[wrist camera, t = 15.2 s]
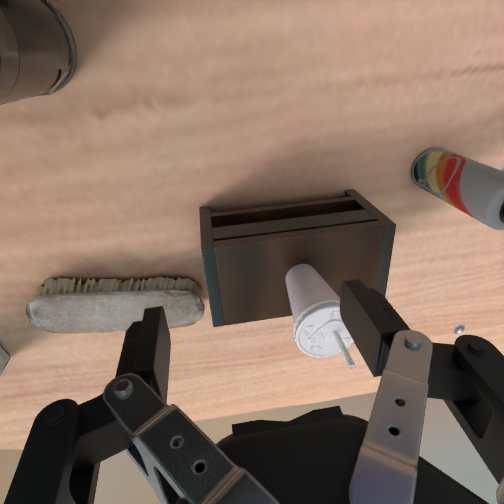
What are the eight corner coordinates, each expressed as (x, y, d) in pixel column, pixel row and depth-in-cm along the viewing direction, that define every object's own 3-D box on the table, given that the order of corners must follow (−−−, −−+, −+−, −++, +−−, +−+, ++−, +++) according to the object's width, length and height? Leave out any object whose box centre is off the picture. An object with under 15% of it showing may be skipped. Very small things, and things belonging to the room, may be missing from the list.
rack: (209, 274, 53) (213, 327, 43) (199, 207, 48) (201, 249, 38) (348, 255, 56) (384, 301, 45) (354, 189, 50) (396, 224, 40)
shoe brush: (42, 318, 53) (28, 342, 48) (30, 276, 49) (14, 297, 45) (203, 311, 57) (204, 332, 52) (203, 271, 53) (204, 290, 49)
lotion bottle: (404, 164, 49) (517, 223, 32) (440, 138, 48) (578, 184, 31) (419, 194, 52) (532, 263, 35) (453, 170, 51) (588, 228, 34)
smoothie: (332, 287, 43) (388, 378, 31) (283, 306, 43) (319, 405, 31) (319, 245, 40) (375, 328, 27) (266, 266, 40) (299, 358, 28)
